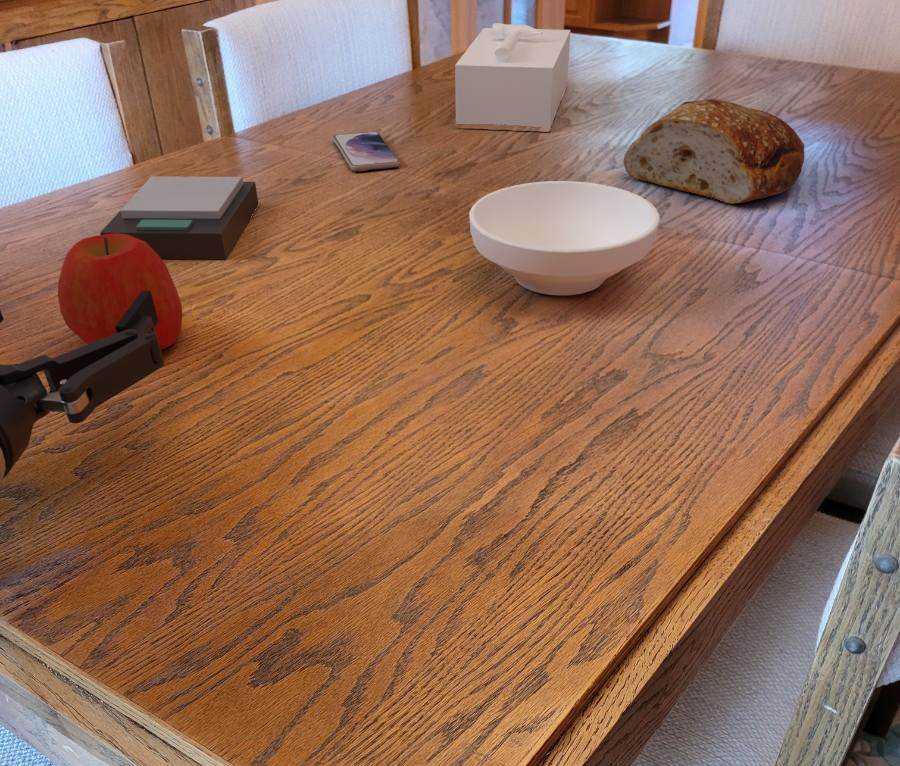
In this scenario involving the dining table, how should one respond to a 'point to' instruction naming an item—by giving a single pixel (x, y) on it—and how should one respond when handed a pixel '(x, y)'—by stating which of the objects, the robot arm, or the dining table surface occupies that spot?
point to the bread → (718, 152)
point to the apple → (115, 287)
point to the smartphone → (366, 151)
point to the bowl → (563, 233)
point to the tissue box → (512, 76)
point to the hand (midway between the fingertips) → (71, 305)
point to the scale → (188, 215)
